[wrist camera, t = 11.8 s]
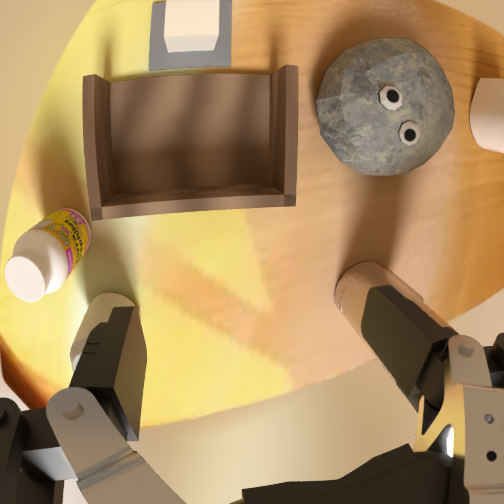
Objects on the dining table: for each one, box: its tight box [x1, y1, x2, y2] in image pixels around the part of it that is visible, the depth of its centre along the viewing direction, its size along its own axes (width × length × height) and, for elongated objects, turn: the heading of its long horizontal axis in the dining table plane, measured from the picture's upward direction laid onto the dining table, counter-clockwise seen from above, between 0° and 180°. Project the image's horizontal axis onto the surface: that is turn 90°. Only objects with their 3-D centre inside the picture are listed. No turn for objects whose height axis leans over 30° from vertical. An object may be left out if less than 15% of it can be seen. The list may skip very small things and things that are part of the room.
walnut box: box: [83, 65, 298, 221], centre depth 28 cm, size 20×14×7 cm
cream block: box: [164, 0, 220, 53], centre depth 23 cm, size 5×5×6 cm
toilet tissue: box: [470, 78, 504, 153], centre depth 32 cm, size 11×12×10 cm
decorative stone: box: [316, 38, 455, 176], centre depth 29 cm, size 18×21×10 cm
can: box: [70, 292, 140, 372], centre depth 32 cm, size 8×8×12 cm
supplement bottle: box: [5, 208, 91, 302], centre depth 26 cm, size 7×7×13 cm
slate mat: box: [149, 0, 232, 71], centre depth 26 cm, size 9×9×1 cm
